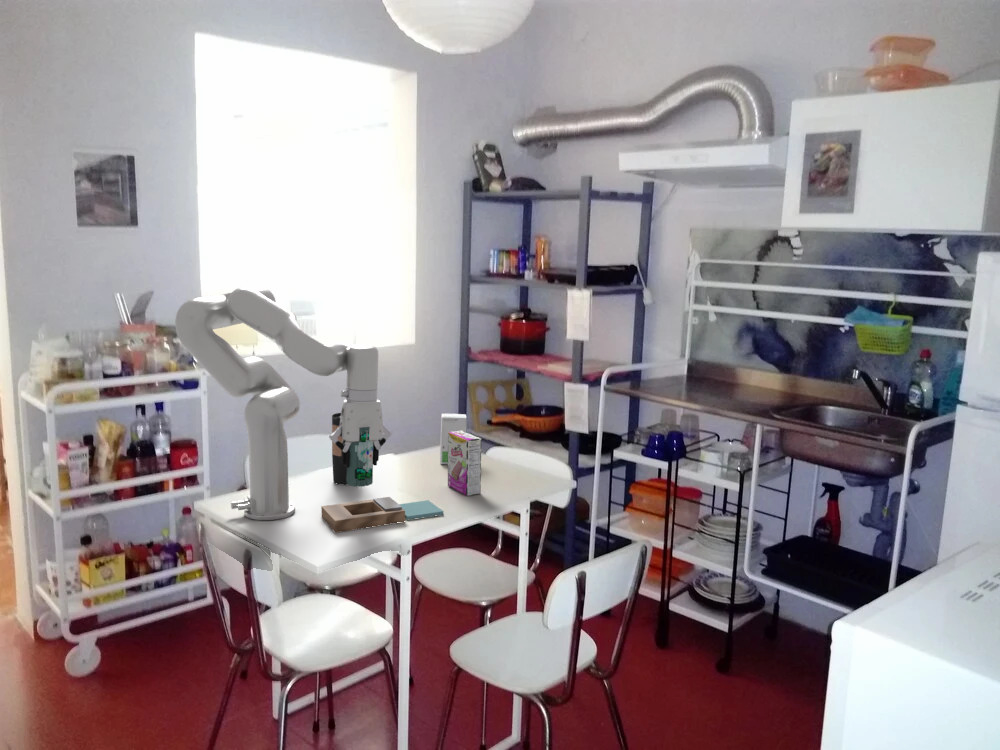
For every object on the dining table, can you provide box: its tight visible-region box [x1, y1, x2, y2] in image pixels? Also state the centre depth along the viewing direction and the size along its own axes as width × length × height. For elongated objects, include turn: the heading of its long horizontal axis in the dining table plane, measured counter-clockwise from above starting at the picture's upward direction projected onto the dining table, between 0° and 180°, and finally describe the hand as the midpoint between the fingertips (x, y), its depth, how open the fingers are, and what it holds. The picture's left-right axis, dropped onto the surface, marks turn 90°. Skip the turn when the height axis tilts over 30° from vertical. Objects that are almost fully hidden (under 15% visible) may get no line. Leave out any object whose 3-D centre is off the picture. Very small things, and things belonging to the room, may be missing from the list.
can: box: [347, 427, 374, 488], centre depth 197 cm, size 6×6×15 cm
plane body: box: [320, 496, 406, 533], centre depth 199 cm, size 18×12×4 cm, turn 118°
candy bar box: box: [447, 430, 482, 497], centre depth 224 cm, size 11×5×16 cm, turn 34°
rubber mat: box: [398, 499, 444, 521], centre depth 206 cm, size 10×10×1 cm
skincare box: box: [439, 413, 468, 465], centre depth 254 cm, size 8×7×16 cm
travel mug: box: [331, 412, 347, 486], centre depth 230 cm, size 8×8×20 cm
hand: (359, 464), depth 197 cm, fingers closed on can, 6 cm apart
